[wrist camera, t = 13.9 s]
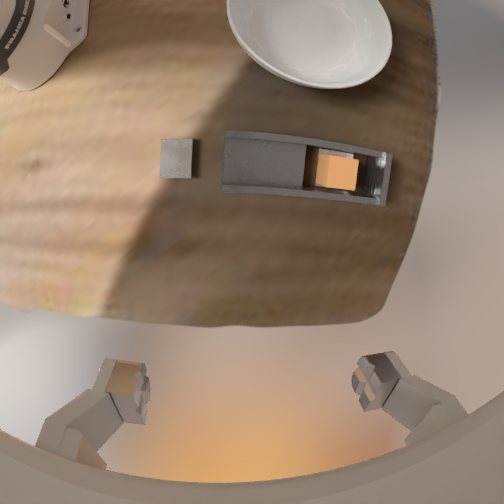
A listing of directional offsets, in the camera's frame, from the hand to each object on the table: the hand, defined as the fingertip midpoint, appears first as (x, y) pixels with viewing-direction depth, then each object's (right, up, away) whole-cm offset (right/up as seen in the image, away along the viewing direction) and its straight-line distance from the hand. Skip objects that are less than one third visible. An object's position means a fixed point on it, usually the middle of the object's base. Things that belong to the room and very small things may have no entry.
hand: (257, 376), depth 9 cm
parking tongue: (-10, +16, +23) cm, 30 cm away
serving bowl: (+7, +35, +18) cm, 40 cm away
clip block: (+11, +16, +26) cm, 32 cm away
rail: (+6, +16, +25) cm, 31 cm away
